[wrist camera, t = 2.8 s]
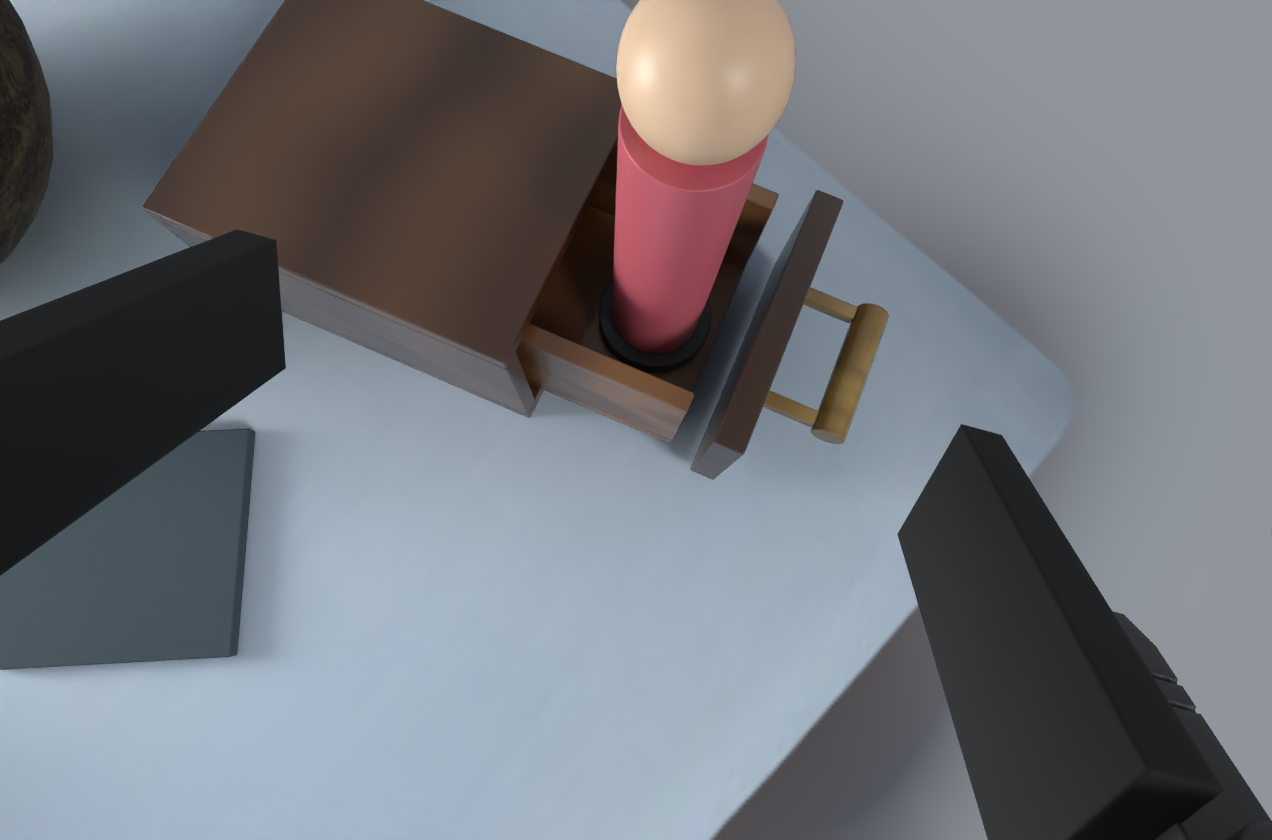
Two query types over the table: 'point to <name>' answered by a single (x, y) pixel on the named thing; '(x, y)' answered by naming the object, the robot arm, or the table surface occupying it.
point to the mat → (140, 567)
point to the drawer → (657, 402)
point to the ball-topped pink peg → (686, 163)
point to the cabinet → (402, 179)
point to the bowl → (21, 130)
